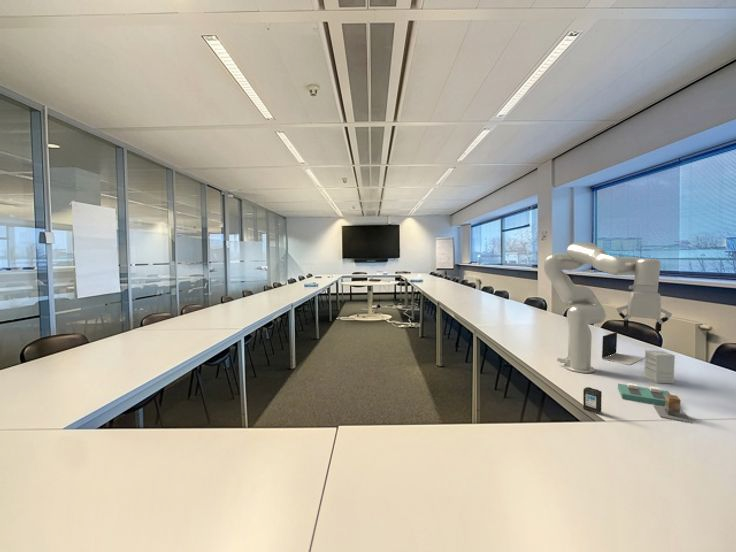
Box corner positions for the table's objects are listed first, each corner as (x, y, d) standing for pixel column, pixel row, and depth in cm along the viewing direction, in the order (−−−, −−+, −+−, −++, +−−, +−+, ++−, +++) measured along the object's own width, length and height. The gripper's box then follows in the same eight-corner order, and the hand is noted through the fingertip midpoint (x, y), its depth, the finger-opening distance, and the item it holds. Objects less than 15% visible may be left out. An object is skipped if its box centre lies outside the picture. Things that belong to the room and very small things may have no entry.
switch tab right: (651, 391, 130) (651, 388, 130) (649, 389, 132) (649, 386, 132) (660, 392, 129) (661, 389, 129) (659, 390, 131) (659, 387, 131)
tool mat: (660, 417, 114) (660, 416, 114) (653, 405, 122) (653, 404, 122) (691, 423, 110) (692, 421, 110) (682, 410, 118) (682, 409, 118)
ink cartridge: (583, 409, 120) (583, 387, 120) (586, 407, 121) (586, 386, 121) (598, 414, 116) (598, 392, 116) (601, 412, 117) (601, 390, 117)
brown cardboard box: (668, 415, 114) (668, 398, 114) (664, 410, 118) (665, 394, 118) (679, 417, 113) (680, 400, 113) (676, 412, 116) (676, 395, 116)
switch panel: (622, 398, 129) (622, 393, 128) (617, 388, 139) (617, 383, 139) (677, 408, 120) (677, 402, 120) (667, 396, 131) (668, 391, 131)
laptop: (629, 366, 168) (630, 340, 167) (601, 359, 178) (602, 336, 178) (642, 360, 178) (643, 336, 177) (615, 354, 188) (616, 331, 187)
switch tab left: (628, 387, 134) (628, 384, 134) (627, 385, 136) (627, 382, 136) (638, 389, 132) (638, 386, 132) (636, 387, 134) (636, 384, 134)
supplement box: (660, 377, 151) (662, 350, 150) (674, 383, 144) (675, 355, 143) (643, 377, 152) (644, 349, 151) (655, 383, 144) (657, 354, 144)
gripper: (619, 288, 134) (615, 330, 135) (676, 292, 125) (672, 336, 126) (617, 286, 140) (613, 326, 142) (671, 290, 131) (667, 332, 133)
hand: (641, 331), depth 134 cm, fingers open, 9 cm apart
